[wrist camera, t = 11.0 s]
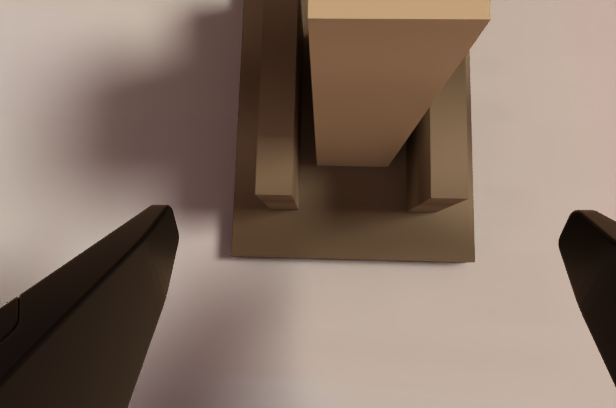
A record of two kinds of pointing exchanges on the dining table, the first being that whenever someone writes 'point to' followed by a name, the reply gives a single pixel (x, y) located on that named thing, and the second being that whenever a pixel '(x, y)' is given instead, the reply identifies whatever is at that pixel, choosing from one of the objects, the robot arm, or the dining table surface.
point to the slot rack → (341, 179)
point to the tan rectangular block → (382, 70)
